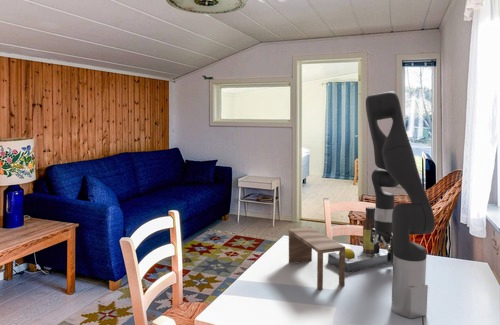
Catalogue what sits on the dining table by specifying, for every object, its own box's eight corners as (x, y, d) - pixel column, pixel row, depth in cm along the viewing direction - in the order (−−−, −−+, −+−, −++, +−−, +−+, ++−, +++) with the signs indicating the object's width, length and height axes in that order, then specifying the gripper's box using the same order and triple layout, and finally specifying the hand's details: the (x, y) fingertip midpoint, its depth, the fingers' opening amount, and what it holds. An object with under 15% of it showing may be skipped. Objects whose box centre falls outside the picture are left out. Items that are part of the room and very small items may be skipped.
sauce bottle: (379, 254, 161) (380, 209, 159) (364, 254, 162) (365, 209, 159) (374, 249, 168) (375, 205, 166) (360, 249, 168) (361, 206, 166)
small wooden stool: (344, 285, 131) (345, 246, 130) (319, 289, 128) (319, 250, 127) (310, 259, 156) (310, 226, 154) (288, 262, 153) (288, 229, 151)
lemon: (337, 265, 152) (351, 261, 156) (345, 263, 148) (360, 259, 152) (332, 252, 154) (347, 248, 158) (341, 249, 149) (355, 245, 153)
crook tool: (403, 260, 155) (403, 250, 154) (347, 273, 142) (347, 263, 142) (381, 251, 165) (381, 242, 165) (328, 263, 153) (328, 253, 152)
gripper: (365, 215, 155) (364, 252, 157) (388, 224, 142) (386, 265, 143) (380, 213, 157) (379, 250, 159) (404, 222, 144) (403, 262, 146)
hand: (383, 257), depth 151 cm, fingers open, 8 cm apart
